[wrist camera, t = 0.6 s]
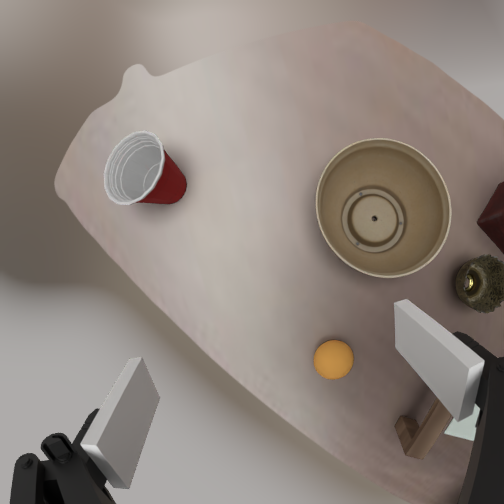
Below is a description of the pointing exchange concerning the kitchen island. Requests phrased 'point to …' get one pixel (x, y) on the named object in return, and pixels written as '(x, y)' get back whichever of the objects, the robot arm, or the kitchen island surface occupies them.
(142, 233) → the kitchen island surface
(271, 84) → the kitchen island surface
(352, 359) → the ball
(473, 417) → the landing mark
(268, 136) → the kitchen island surface
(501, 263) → the green lump
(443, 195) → the planter bowl
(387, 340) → the kitchen island surface
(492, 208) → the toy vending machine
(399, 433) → the bridge
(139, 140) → the plastic cup
